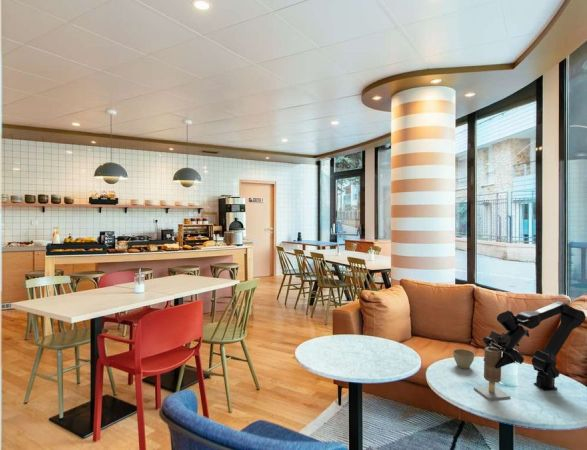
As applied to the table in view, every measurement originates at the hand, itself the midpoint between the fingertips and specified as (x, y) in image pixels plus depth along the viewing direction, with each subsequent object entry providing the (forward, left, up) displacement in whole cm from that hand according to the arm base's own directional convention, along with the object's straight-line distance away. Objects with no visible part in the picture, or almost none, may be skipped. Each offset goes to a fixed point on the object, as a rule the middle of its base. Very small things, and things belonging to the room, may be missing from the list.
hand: (489, 364), depth 167 cm
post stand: (-1, 0, -13) cm, 13 cm away
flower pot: (-6, -27, -13) cm, 31 cm away
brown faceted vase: (-1, 0, -7) cm, 7 cm away
